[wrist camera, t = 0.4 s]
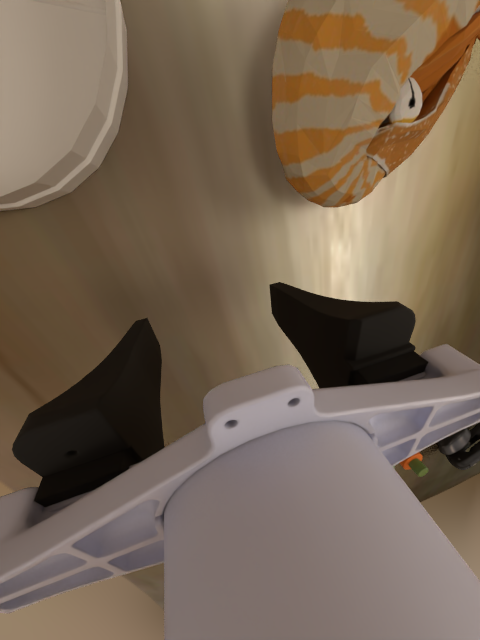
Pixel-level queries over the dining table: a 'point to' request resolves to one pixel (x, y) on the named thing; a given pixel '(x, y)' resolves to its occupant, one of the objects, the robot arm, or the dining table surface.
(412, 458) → the carrot
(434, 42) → the nautilus
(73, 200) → the dining table surface
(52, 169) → the dish
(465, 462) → the can opener
